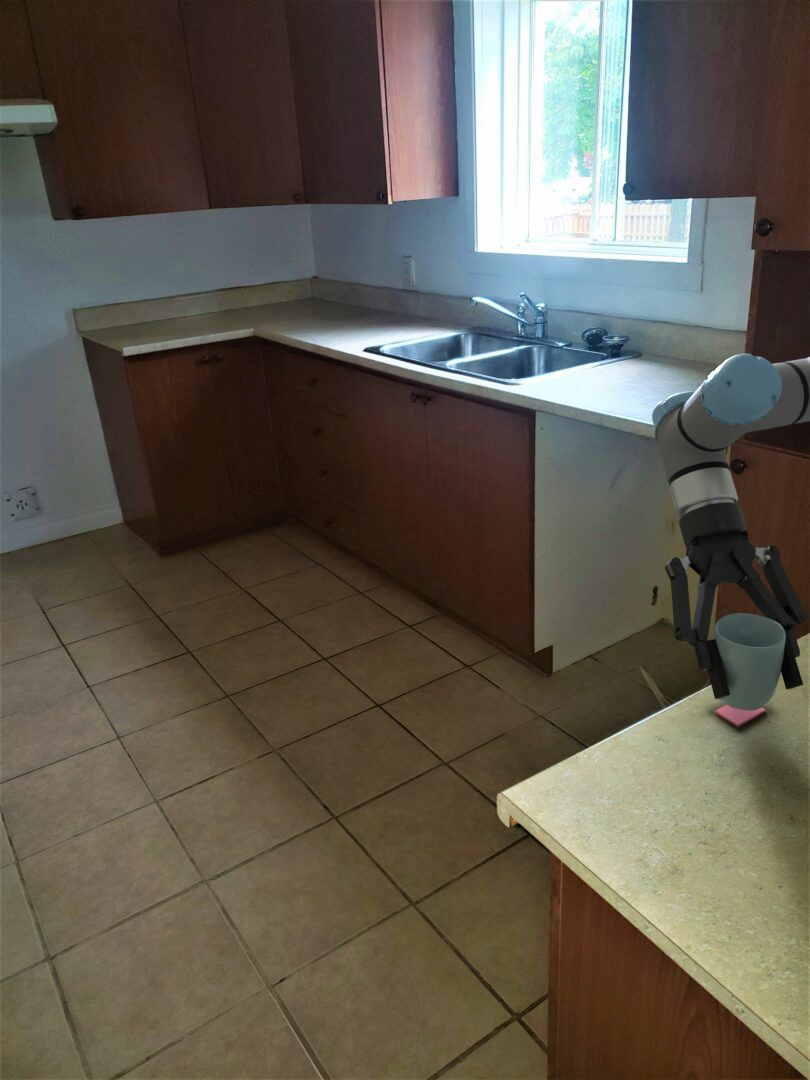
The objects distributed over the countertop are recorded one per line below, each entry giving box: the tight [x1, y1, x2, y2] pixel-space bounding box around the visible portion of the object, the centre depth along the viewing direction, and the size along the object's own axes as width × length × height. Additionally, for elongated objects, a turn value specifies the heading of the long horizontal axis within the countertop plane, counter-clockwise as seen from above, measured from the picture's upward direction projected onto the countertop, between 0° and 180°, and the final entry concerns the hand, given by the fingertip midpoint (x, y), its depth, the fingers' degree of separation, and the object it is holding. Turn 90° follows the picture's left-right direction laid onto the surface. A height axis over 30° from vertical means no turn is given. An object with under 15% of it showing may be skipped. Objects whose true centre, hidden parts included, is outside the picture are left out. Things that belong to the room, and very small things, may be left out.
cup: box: [712, 612, 786, 711], centre depth 97 cm, size 8×8×10 cm
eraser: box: [714, 704, 767, 728], centre depth 100 cm, size 5×3×1 cm
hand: (758, 691), depth 95 cm, fingers closed on cup, 8 cm apart
